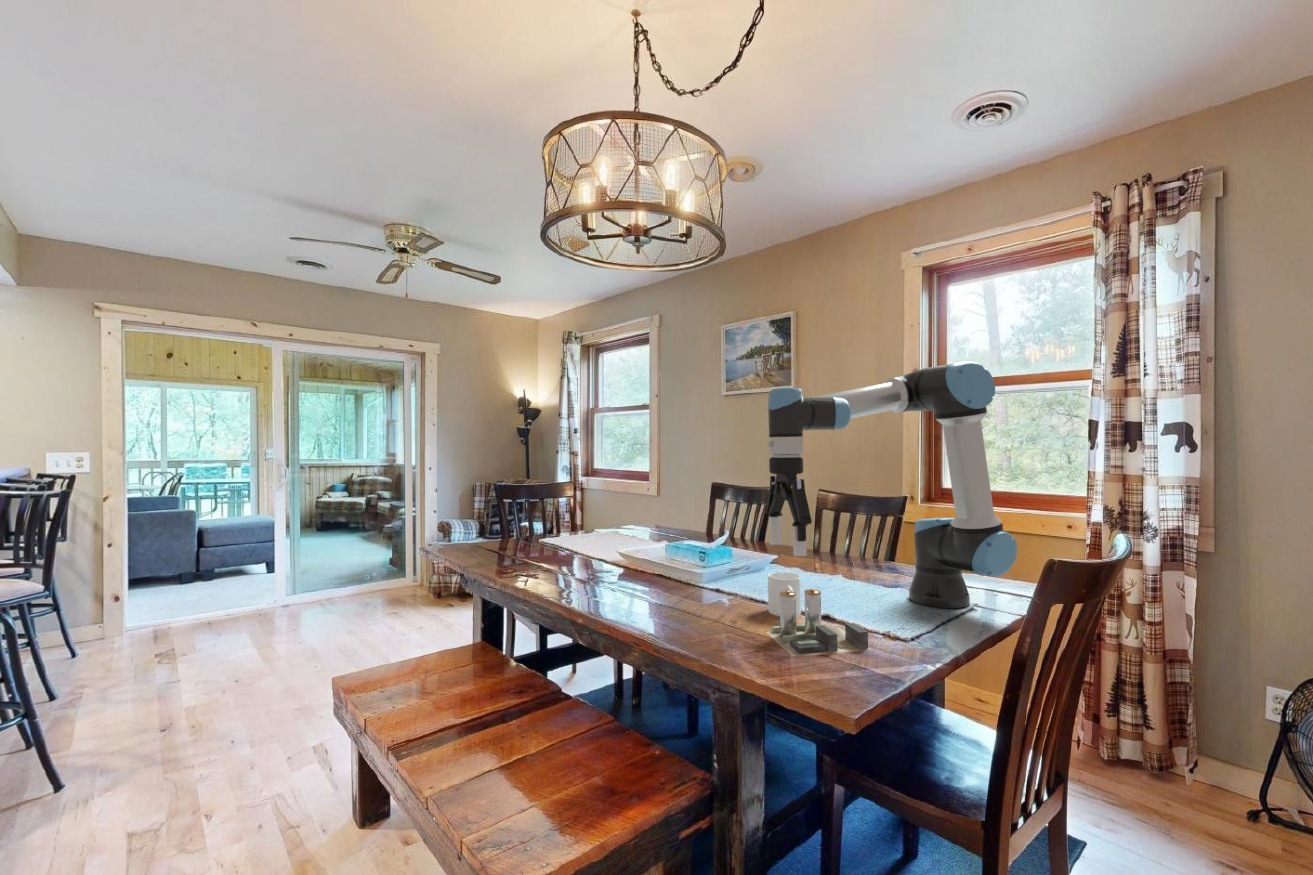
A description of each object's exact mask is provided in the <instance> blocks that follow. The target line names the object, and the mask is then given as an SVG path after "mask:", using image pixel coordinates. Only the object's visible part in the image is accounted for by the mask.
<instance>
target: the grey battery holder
mask: <svg viewBox="0 0 1313 875" xmlns="http://www.w3.org/2000/svg"><path fill="white" fill-rule="evenodd" d="M844 629H845V630H844ZM844 629H843V628H841V627H839V626H832V627H828V626H826V625H825V624H823V625H822V624H821V625H819V626H816V633H809V634H805V623H802V624H796V633H797V634H796V635H783V636H782V637H781V636H780V625H774V626H772V627H771V631H767V632H766V633H765V634H767V635H768V636H769V637H770V638H771V639H773V640H774V642H776V643H777V644H778V645H779V646H780V647H781V648H782V649H783V650H784V651H785V652H787V653H788V655H790V656H791V657H792V658H794V657H806V656H807V657H808V656H817V655H820V656H821V655H830V654H832V655H833V654H842V653H843V654H844V653H851V652H852V653H854V652H865V651H866V652H869V651H873V649H872V648H871V647H870V646H869V631H867V630H866V629H864V628H862V627H860V626H859V624H858V625H857V624H856V623H855V622H848V623H844Z"/></svg>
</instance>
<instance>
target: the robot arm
mask: <svg viewBox="0 0 1313 875" xmlns="http://www.w3.org/2000/svg"><path fill="white" fill-rule="evenodd" d="M995 395H996V383H995V381H994V377H993V375H992V374H991V372H990V371H989V369H987V368H986V367H984V366H983V365H982V364H980V363H978V362H975V361H957V362H954V363H948V364H942V365H937V366H932V367H931V366H930V367H924V368H922V369H918V370H915V371H912V372H910V373H906V374H903V375H900V376H895V377H890V378H888V379H886V381H885V382H884V383H879V384H874V385H868V386H863V387H859V388H854V389H848V390H843V391H837V392H833V393H829V394H828V393H827V394H822V395H817V396H813V397H806V396H804V395H803V391H802V389H801V388H799V387H779V388H778V387H777V388H773V389H771V390H770V391H769V393H768V400H767V401H768V403H767V412H768V414H767V415H768V442H767V443H766V444H767V446H768V447H769V448H768V452H769V453H768V454H769V455H770V456H771V457H769V458H768V459H769V460H768V464H769V466H768V469H769V473H770V474H772V475H770V477H769V488H768V496H767V499H766V500H767V501H766V507H765V513H766V514H768V517H769V543H770V545H771V546H773V545H775V546H777V545H783V522H782V521H783V520H782V518H783V513H782V510H783V506H784V504H785V501H787V504H788V506H789V510H790V513H791V516H792V519H793V523H792V524H791V525H792V534H793V535H792V541H793V544H792V546H793V557H807V556H808V555H807V554H808V552H807V551H808V550H807V548H808V546H807V545H808V544H807V526H808V525H812V522H813V520H812V517H811V511H810V508H809V506H810V505H809V502H808V498H807V494H806V489H805V488H806V487H805V480H804V479H803V478H800V479H798V476H797V475H800V474H803V473H804V458H803V457H801V455H803V454H804V431H828V430H829V431H835V430H844V429H845V428H846V427H847V426H849V423H850V421H851V420H852V419H856V418H857V419H858V418H863V417H866V416H872V415H875V414H882V413H886V412H892V413H894V414H897V413H899V414H900V413H904V412H934V420H935V421H936V422H937V423H940V424H941V425H942V428H943V429H942V430H943V435H944V442H945V450H946V457H947V465H948V470H949V471H948V472H949V476H950V477H949V478H950V484H951V490H952V491H951V492H952V499H953V506H954V512H955V513H954V514H955V517H934V518H933V517H931V518H921V519H918V520H916V522H915V525H914V557H915V558H914V559H915V572H914V575H913V577H912V580H911V584H910V587H909V589H908V598H909V599H910V600H911V601H912V602H914V603H917V604H918V605H919V604H920V605H923V606H928V607H933V608H943V609H961V608H966V607H969V606H970V604H971V596H970V593H969V591H968V588H967V585H966V581H965V580H964V577H963V571H965V572H967V573H972V574H975V575H977V576H981V577H990V578H998V577H1001V576H1003V575H1005V574H1006V573H1007V572H1009V571H1010V570H1011V569H1012V566H1013V565H1014V564H1015V562H1016V560H1017V556H1018V544H1017V540H1016V539H1015V537H1013V535H1012V534H1011V533H1009V532H1007V531H1004V527H1003V525H1004V524H1003V520H1002V518H999V517H998V516H997V515H995V512H994V503H993V497H992V490H991V484H990V483H991V482H990V476H989V470H988V462H987V455H986V446H985V440H984V433H983V425H982V420H983V419H984V418H985V417H986V415H987V414H988V410H987V406H989V405H990V404H992V402H993V400H994V397H995Z"/></svg>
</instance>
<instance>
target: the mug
mask: <svg viewBox="0 0 1313 875" xmlns="http://www.w3.org/2000/svg"><path fill="white" fill-rule="evenodd" d="M801 583H802V581H801V575H799V574H798V573H793V572H786V571H777V572H776V571H775V572H772V573H768V574H767V595H768V598H767V601H768V604H767V606H768V607H767V608H768V613H769V614H771V615H772V616H773V615H774V616H778V617H780V592H781V591H792V592H795V593H796V617H797V616H799V615H801V614H802V599H801V598H802V588H801V587H802V585H801Z"/></svg>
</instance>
